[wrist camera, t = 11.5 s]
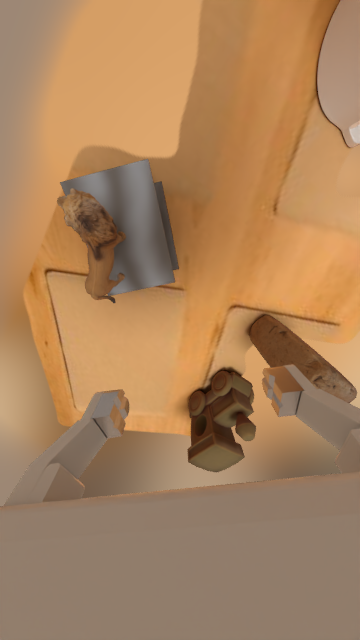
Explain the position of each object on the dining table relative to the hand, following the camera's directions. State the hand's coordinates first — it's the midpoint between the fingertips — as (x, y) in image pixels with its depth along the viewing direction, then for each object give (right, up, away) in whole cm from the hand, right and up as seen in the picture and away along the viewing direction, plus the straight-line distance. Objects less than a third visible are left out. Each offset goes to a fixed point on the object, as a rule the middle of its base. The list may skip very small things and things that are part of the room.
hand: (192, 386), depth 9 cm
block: (+22, +1, +32) cm, 39 cm away
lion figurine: (-12, +14, +16) cm, 25 cm away
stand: (-9, +20, +22) cm, 31 cm away
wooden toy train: (+11, -18, +42) cm, 47 cm away
